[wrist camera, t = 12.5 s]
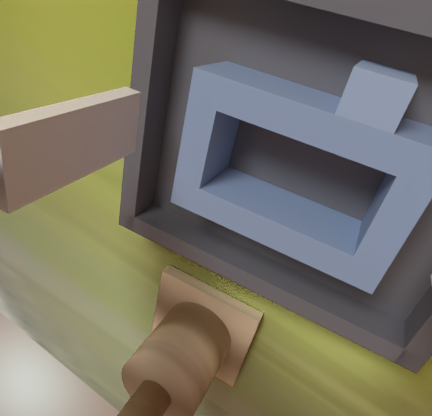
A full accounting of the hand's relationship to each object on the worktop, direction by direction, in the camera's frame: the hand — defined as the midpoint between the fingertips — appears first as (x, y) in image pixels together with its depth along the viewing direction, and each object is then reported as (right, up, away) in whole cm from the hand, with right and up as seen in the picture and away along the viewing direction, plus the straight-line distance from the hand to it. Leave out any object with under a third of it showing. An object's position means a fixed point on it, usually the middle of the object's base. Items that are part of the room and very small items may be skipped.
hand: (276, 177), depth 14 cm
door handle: (-3, -9, +11) cm, 15 cm away
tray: (+2, +1, +3) cm, 4 cm away
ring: (+2, +1, +3) cm, 3 cm away
